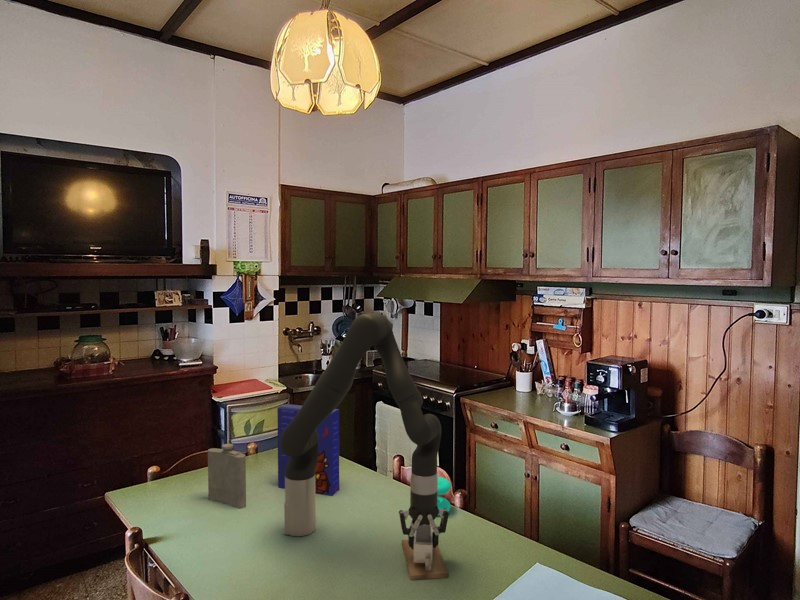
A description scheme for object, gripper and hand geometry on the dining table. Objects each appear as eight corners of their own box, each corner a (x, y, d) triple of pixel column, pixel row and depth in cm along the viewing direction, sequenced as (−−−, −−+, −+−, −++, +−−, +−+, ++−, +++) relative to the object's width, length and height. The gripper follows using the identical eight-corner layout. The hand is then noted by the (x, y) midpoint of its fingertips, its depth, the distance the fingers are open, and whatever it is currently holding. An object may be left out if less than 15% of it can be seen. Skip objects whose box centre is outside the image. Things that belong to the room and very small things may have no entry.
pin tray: (410, 580, 137) (410, 564, 136) (401, 543, 155) (401, 529, 154) (448, 577, 138) (448, 561, 138) (435, 541, 156) (435, 528, 155)
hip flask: (206, 499, 183) (205, 443, 182) (215, 495, 187) (214, 439, 185) (241, 509, 176) (240, 450, 175) (249, 504, 180) (249, 446, 178)
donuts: (430, 473, 182) (456, 479, 177) (429, 501, 183) (455, 508, 178) (415, 483, 174) (442, 489, 169) (415, 512, 174) (442, 520, 169)
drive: (413, 562, 140) (413, 543, 140) (414, 539, 152) (415, 522, 152) (432, 563, 140) (432, 544, 140) (432, 540, 152) (432, 522, 152)
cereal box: (339, 489, 192) (339, 408, 190) (332, 496, 186) (331, 412, 184) (286, 481, 199) (285, 403, 197) (278, 487, 193) (277, 407, 191)
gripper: (399, 495, 140) (399, 556, 141) (452, 492, 142) (451, 553, 143) (396, 483, 148) (396, 541, 149) (446, 481, 150) (445, 538, 151)
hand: (423, 547), depth 146 cm, fingers closed on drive, 5 cm apart
